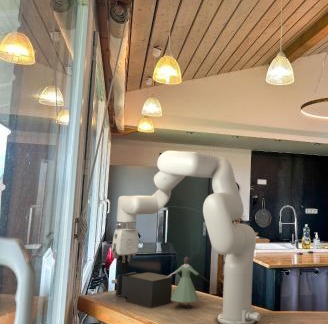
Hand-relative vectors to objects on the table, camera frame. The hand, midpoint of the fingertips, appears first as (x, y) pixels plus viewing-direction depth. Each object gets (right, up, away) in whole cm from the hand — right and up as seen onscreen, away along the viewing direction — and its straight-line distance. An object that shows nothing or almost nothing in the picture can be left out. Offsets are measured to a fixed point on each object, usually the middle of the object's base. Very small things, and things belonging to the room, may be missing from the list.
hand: (123, 271), depth 154 cm
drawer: (+4, -8, -4) cm, 10 cm away
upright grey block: (+13, -9, -10) cm, 18 cm away
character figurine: (+28, -9, -15) cm, 33 cm away
